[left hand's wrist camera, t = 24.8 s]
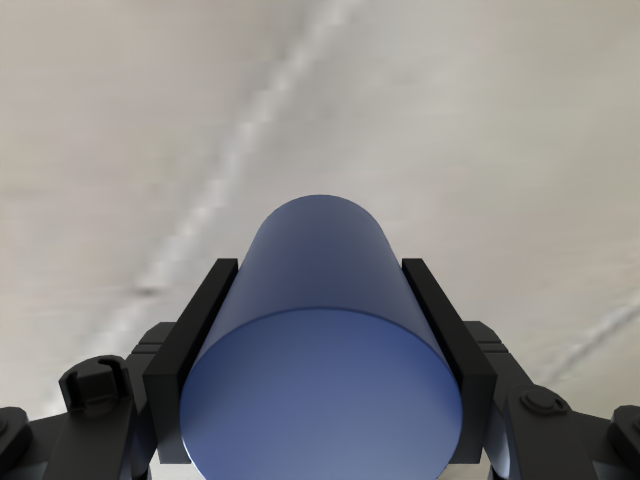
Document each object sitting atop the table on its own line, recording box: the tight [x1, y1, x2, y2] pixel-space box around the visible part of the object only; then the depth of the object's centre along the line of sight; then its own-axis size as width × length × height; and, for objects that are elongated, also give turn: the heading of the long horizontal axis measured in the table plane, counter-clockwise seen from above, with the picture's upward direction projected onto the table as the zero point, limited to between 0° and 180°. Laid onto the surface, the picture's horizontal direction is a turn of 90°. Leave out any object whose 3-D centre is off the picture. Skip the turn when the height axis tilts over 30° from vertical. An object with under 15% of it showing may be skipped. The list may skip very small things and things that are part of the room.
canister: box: [179, 195, 463, 480], centre depth 13 cm, size 6×6×9 cm
